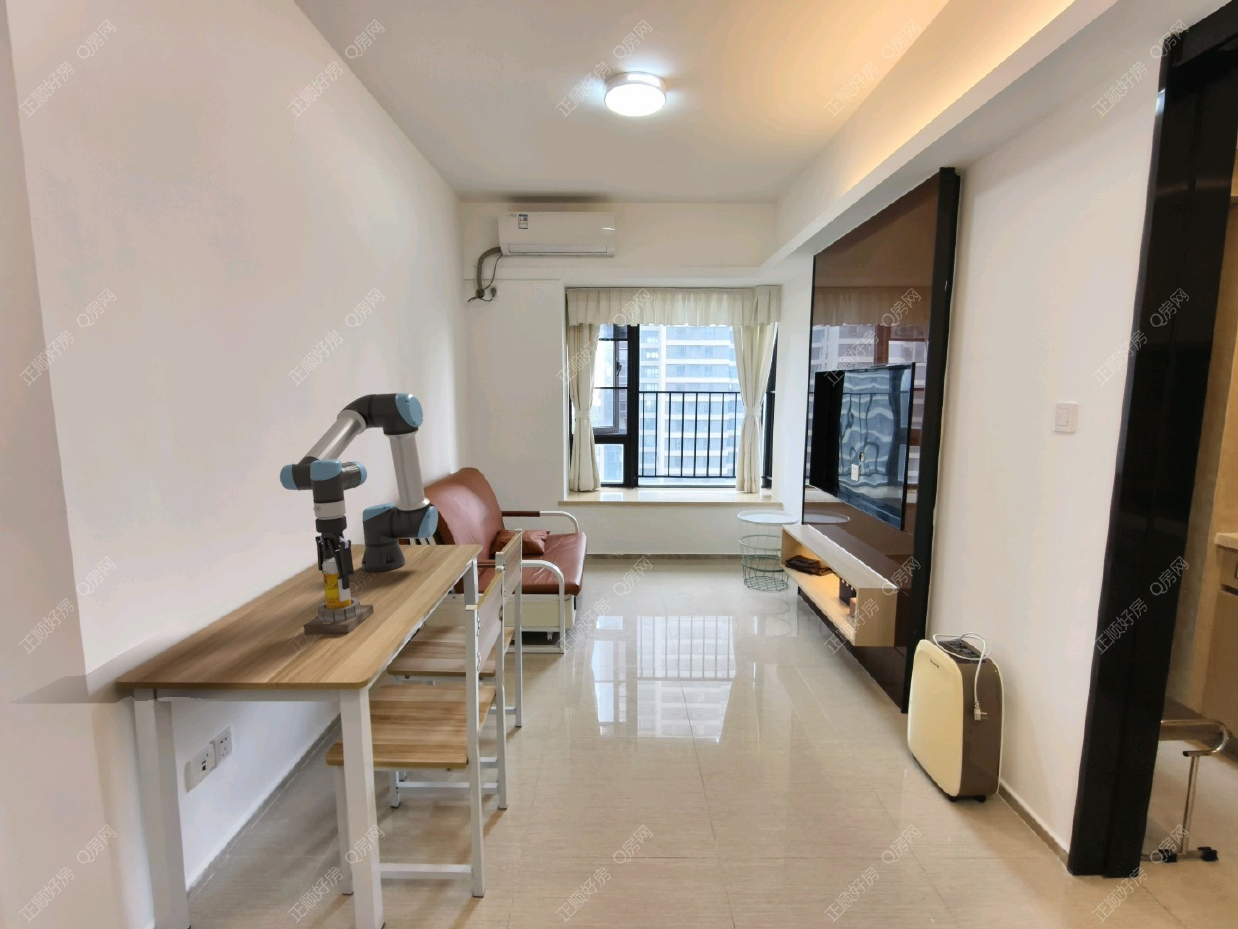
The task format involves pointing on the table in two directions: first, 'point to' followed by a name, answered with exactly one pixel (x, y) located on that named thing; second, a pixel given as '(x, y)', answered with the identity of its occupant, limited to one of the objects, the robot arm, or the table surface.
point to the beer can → (332, 585)
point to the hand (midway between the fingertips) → (338, 597)
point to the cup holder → (338, 618)
